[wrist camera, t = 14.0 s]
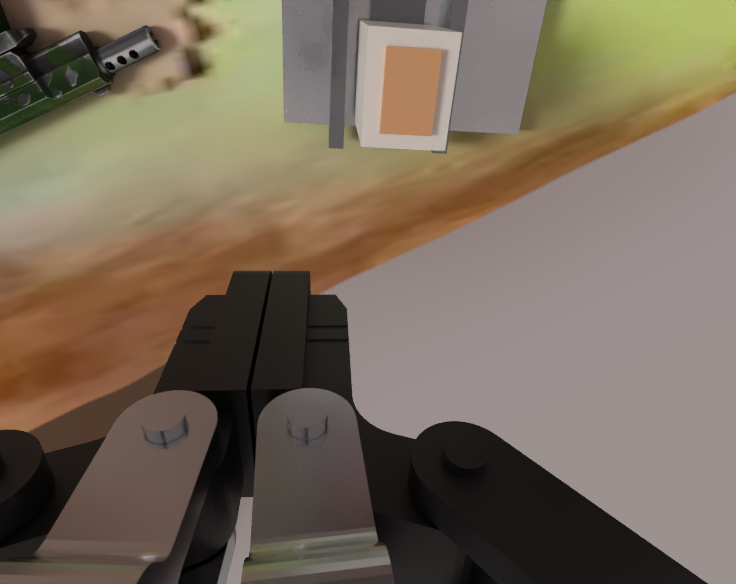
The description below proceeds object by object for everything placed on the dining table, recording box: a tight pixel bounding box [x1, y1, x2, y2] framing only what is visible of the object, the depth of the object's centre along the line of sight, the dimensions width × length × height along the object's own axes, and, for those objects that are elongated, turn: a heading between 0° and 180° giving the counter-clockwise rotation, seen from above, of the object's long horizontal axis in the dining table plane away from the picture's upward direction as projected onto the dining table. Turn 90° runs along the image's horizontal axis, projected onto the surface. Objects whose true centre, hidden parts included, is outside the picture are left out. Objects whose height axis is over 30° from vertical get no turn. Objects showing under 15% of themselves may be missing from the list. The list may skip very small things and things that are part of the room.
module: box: [354, 20, 462, 151], centre depth 25 cm, size 5×4×6 cm
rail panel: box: [282, 0, 547, 154], centre depth 27 cm, size 11×14×2 cm
